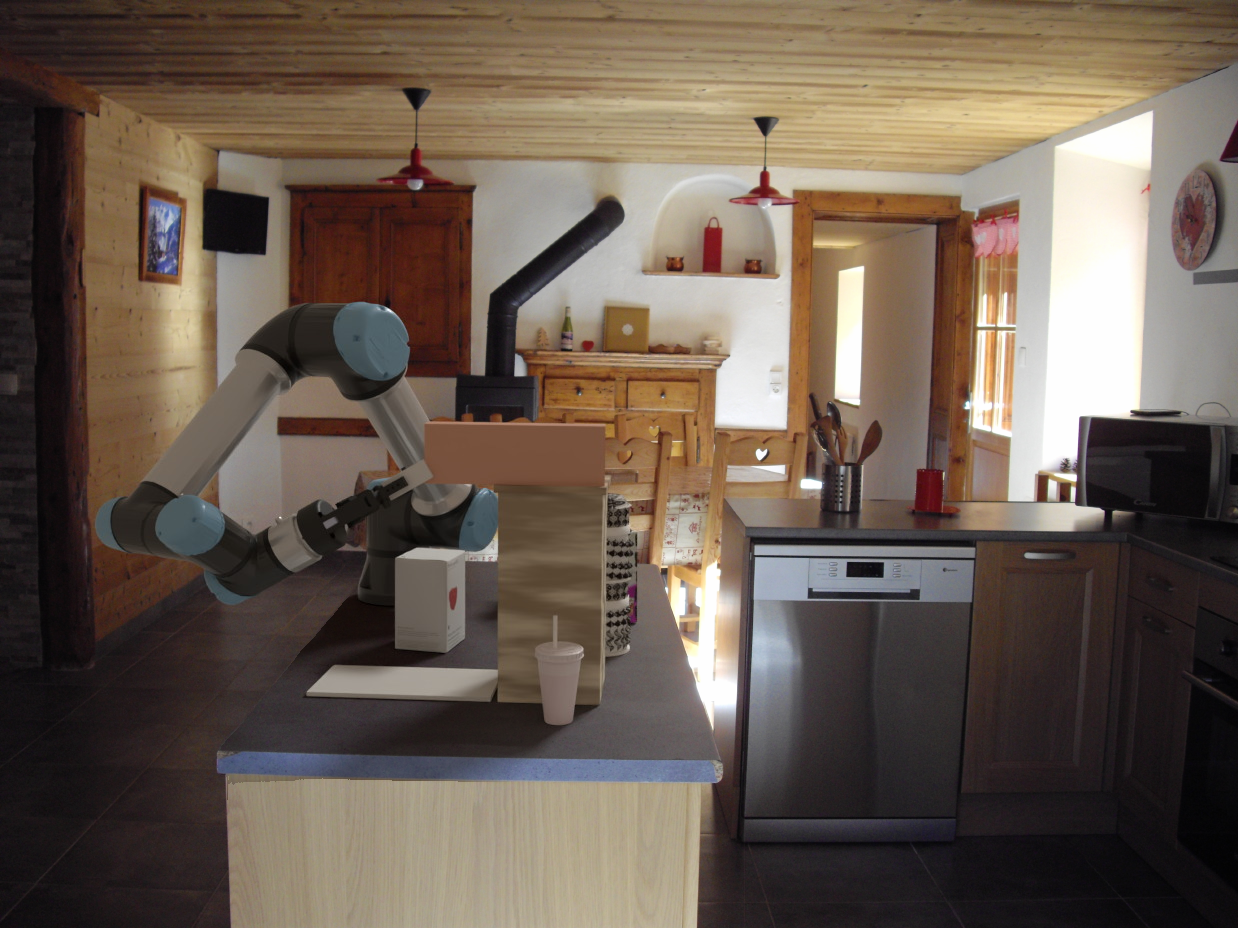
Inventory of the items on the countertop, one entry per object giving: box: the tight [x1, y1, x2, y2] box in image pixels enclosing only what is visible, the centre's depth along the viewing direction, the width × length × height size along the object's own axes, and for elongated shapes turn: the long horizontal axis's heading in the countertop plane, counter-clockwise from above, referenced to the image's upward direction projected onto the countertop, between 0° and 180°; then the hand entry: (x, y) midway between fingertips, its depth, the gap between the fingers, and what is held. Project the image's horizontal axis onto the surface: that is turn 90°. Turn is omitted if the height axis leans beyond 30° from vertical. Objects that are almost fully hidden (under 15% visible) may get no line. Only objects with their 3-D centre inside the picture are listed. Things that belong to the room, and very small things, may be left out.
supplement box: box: [394, 547, 466, 654], centre depth 169 cm, size 9×9×15 cm
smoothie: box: [535, 615, 584, 726], centre depth 136 cm, size 6×6×14 cm
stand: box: [493, 474, 612, 706], centre depth 147 cm, size 13×15×30 cm
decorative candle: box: [605, 492, 634, 658], centre depth 167 cm, size 9×9×25 cm
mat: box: [306, 664, 498, 703], centre depth 150 cm, size 12×26×1 cm, turn 87°
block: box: [424, 420, 606, 486], centre depth 141 cm, size 4×24×8 cm, turn 91°
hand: (439, 462), depth 146 cm, fingers open, 13 cm apart
